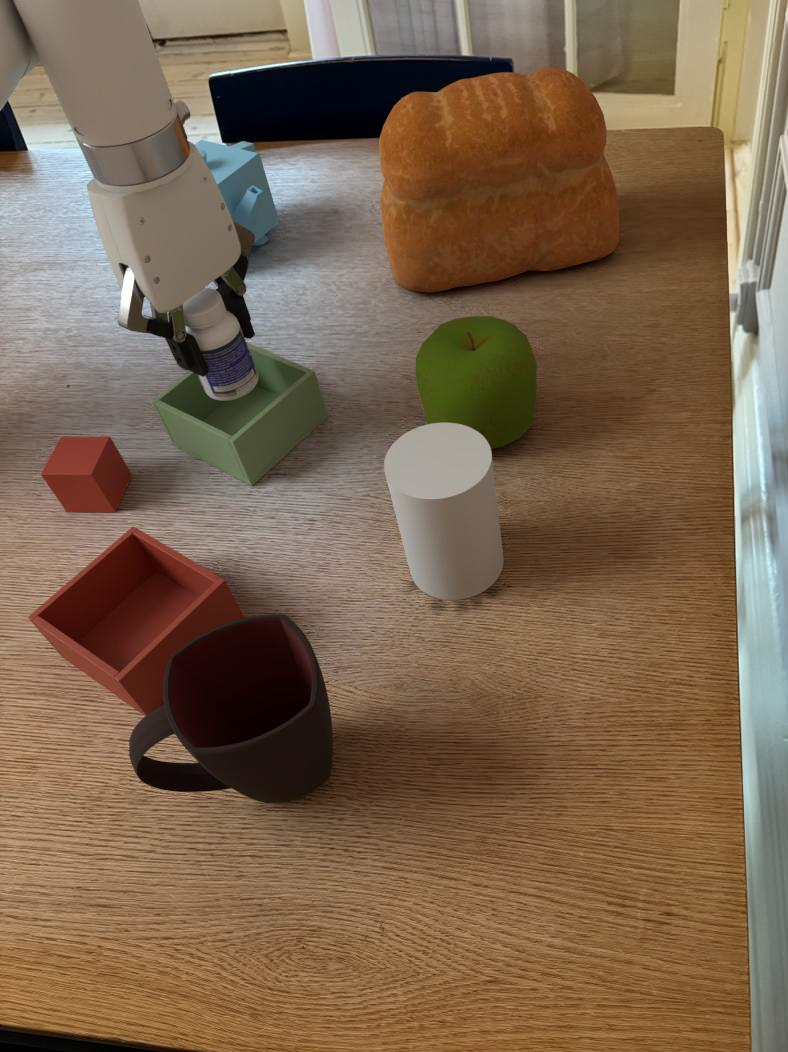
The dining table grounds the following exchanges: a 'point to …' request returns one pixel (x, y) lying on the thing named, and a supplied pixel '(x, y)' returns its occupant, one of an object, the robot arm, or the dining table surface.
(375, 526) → the dining table surface
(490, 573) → the white solid cylinder
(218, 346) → the pill bottle
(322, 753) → the mug
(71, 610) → the brick bin
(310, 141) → the dining table surface
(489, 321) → the apple
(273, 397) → the sage bin
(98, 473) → the red block
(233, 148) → the teapot
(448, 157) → the bread
